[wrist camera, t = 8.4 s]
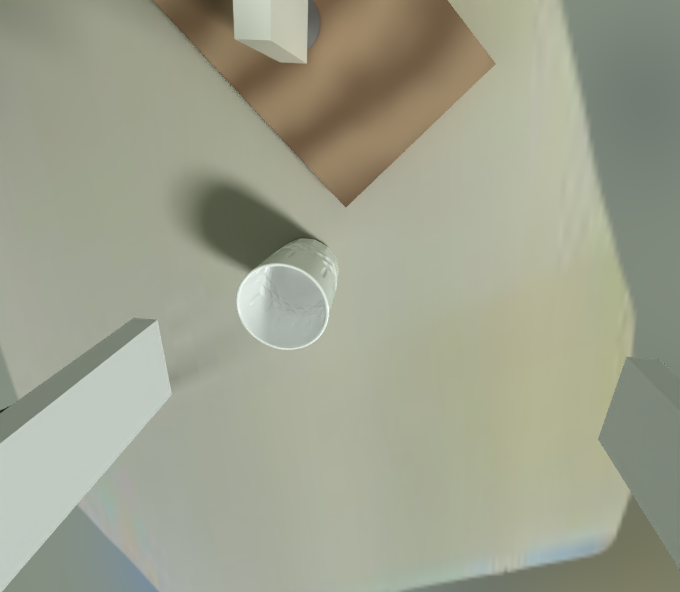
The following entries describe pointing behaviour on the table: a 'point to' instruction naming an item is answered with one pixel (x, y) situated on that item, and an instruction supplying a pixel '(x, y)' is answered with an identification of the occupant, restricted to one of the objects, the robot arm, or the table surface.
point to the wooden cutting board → (347, 79)
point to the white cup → (289, 295)
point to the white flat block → (273, 28)
